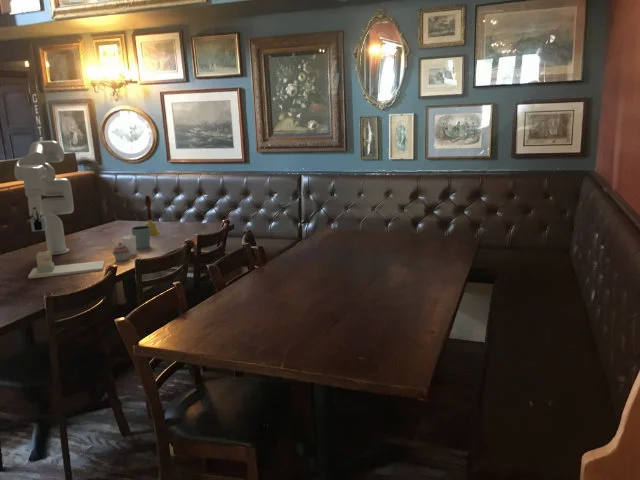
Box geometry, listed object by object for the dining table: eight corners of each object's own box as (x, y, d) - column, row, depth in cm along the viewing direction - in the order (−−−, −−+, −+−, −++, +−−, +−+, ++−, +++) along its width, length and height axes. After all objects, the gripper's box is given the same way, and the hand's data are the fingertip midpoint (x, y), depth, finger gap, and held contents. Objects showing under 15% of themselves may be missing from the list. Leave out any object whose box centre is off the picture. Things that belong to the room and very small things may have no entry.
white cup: (132, 256, 297) (130, 238, 295) (120, 255, 299) (117, 238, 297) (140, 252, 305) (138, 235, 303) (127, 252, 307) (125, 235, 304)
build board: (33, 270, 275) (32, 262, 274) (104, 262, 286) (103, 255, 285) (28, 278, 261) (27, 270, 260) (103, 270, 272) (101, 262, 271)
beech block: (39, 263, 271) (37, 252, 270) (52, 262, 273) (50, 251, 272) (37, 267, 266) (35, 255, 264) (51, 265, 268) (49, 254, 266)
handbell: (146, 231, 360) (142, 194, 354) (164, 231, 358) (160, 194, 352) (138, 235, 348) (133, 197, 342) (156, 235, 346) (152, 197, 340)
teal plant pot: (130, 248, 314) (127, 228, 312) (141, 244, 323) (139, 225, 321) (143, 249, 311) (141, 229, 308) (155, 245, 320) (153, 226, 317)
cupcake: (109, 262, 287) (107, 244, 285) (121, 257, 296) (119, 239, 293) (123, 263, 284) (121, 245, 282) (135, 258, 292) (133, 240, 290)
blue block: (34, 229, 267) (32, 217, 265) (47, 228, 269) (45, 216, 267) (32, 231, 261) (30, 219, 260) (45, 230, 263) (43, 218, 262)
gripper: (28, 190, 267) (34, 226, 272) (22, 195, 251) (28, 232, 256) (45, 189, 270) (50, 224, 274) (39, 194, 254) (45, 231, 258)
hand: (39, 228), depth 265 cm, fingers closed on blue block, 6 cm apart
